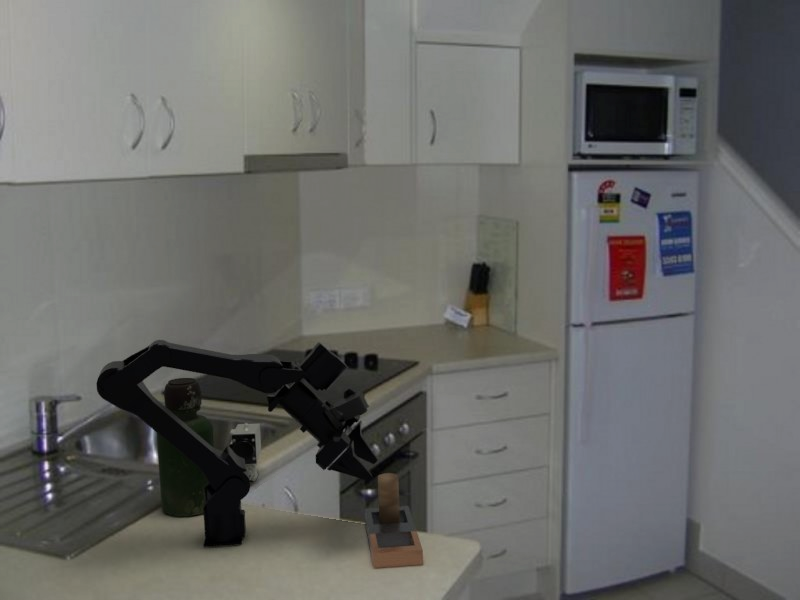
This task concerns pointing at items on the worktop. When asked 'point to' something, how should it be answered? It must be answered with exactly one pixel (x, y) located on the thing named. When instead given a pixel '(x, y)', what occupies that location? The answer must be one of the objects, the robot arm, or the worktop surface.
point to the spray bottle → (175, 470)
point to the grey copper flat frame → (393, 540)
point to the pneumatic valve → (247, 445)
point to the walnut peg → (388, 498)
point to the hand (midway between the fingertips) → (373, 470)
